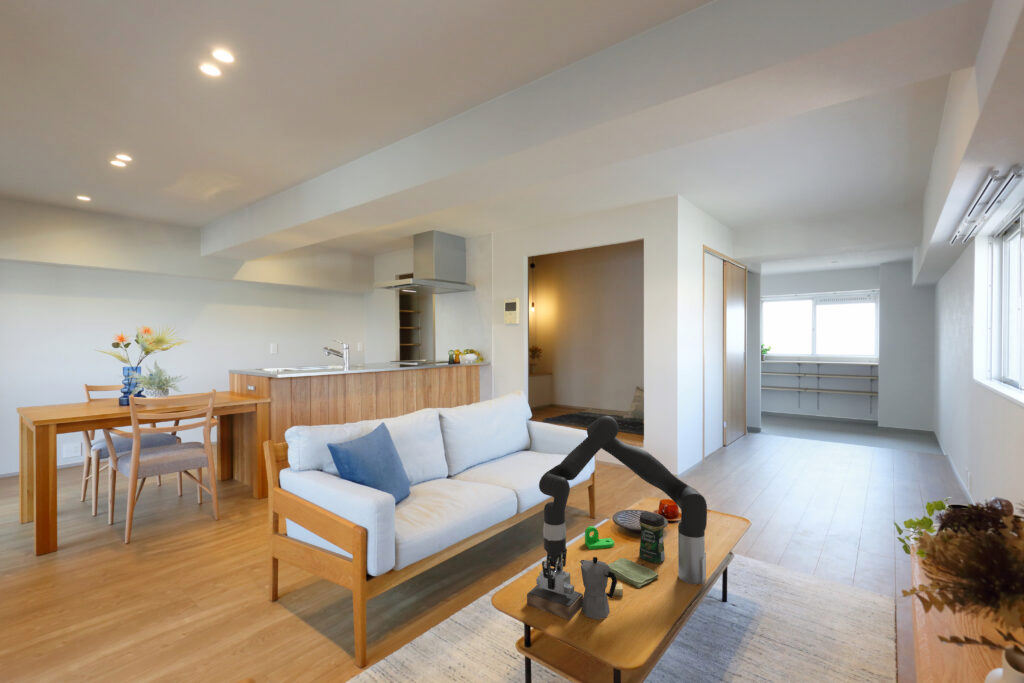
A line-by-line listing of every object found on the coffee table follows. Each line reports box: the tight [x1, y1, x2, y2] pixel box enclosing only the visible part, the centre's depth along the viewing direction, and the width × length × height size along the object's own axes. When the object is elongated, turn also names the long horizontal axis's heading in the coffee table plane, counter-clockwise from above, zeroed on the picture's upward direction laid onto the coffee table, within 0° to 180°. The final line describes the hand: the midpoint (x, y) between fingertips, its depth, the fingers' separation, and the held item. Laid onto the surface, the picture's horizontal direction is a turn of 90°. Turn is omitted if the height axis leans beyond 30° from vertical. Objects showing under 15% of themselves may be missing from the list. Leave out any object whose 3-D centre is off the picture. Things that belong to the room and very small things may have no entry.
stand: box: [526, 583, 584, 621], centre depth 158 cm, size 16×10×4 cm, turn 57°
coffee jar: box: [638, 510, 666, 564], centre depth 191 cm, size 10×8×19 cm
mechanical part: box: [584, 525, 615, 550], centre depth 203 cm, size 12×6×8 cm, turn 100°
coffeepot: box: [579, 556, 618, 620], centre depth 153 cm, size 15×9×18 cm, turn 39°
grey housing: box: [535, 569, 575, 595], centre depth 158 cm, size 5×13×5 cm, turn 57°
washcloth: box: [606, 557, 659, 589], centre depth 178 cm, size 13×18×3 cm
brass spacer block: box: [609, 582, 624, 598], centre depth 165 cm, size 4×4×3 cm
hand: (555, 584), depth 158 cm, fingers closed on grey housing, 5 cm apart
